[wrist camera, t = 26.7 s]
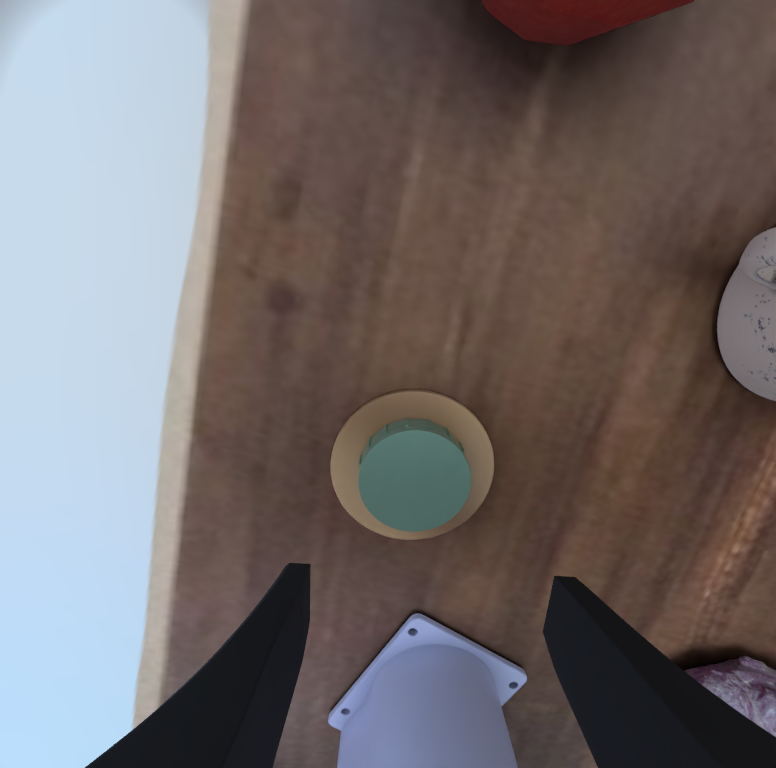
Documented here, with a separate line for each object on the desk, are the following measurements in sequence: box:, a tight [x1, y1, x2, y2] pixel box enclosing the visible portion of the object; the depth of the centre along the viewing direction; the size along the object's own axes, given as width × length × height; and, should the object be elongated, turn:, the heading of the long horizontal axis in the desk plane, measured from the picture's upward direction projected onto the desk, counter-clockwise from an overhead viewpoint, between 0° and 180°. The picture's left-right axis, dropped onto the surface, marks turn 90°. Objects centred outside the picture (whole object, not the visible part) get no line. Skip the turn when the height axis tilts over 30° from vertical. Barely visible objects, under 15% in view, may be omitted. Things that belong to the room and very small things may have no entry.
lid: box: [358, 418, 471, 532], centre depth 18 cm, size 5×5×2 cm
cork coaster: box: [330, 389, 494, 540], centre depth 19 cm, size 8×8×1 cm
